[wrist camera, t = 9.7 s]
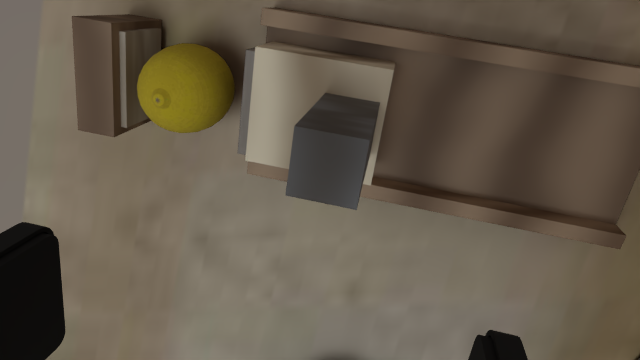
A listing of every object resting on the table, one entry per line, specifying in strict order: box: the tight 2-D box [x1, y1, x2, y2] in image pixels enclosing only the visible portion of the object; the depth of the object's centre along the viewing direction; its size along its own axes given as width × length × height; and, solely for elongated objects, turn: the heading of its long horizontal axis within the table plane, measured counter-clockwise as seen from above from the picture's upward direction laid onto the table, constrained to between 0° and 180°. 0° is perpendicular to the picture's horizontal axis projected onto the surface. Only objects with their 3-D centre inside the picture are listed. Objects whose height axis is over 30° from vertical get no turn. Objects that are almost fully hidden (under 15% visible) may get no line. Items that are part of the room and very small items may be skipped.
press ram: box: [238, 42, 395, 210], centre depth 25 cm, size 9×7×12 cm
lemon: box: [137, 43, 235, 133], centre depth 30 cm, size 6×6×8 cm
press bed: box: [247, 8, 640, 249], centre depth 30 cm, size 25×11×3 cm, turn 82°
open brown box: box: [72, 14, 162, 137], centre depth 31 cm, size 3×7×6 cm, turn 172°
